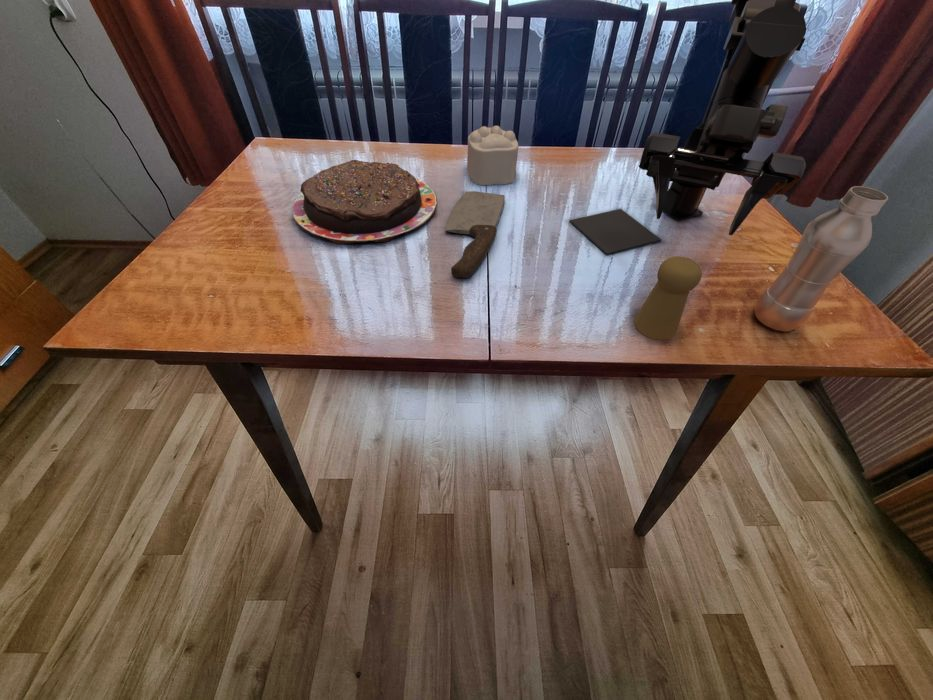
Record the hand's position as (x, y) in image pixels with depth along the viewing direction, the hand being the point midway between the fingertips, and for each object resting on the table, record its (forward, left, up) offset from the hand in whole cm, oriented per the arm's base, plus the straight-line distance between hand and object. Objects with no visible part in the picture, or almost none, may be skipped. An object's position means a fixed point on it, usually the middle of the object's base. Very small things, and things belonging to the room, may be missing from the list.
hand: (693, 226), depth 56 cm
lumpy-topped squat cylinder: (+6, -51, -13) cm, 53 cm away
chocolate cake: (+36, -45, -13) cm, 59 cm away
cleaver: (+20, -29, -13) cm, 37 cm away
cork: (+5, +4, -13) cm, 14 cm away
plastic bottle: (-12, +10, -13) cm, 21 cm away
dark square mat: (-5, -19, -13) cm, 24 cm away
